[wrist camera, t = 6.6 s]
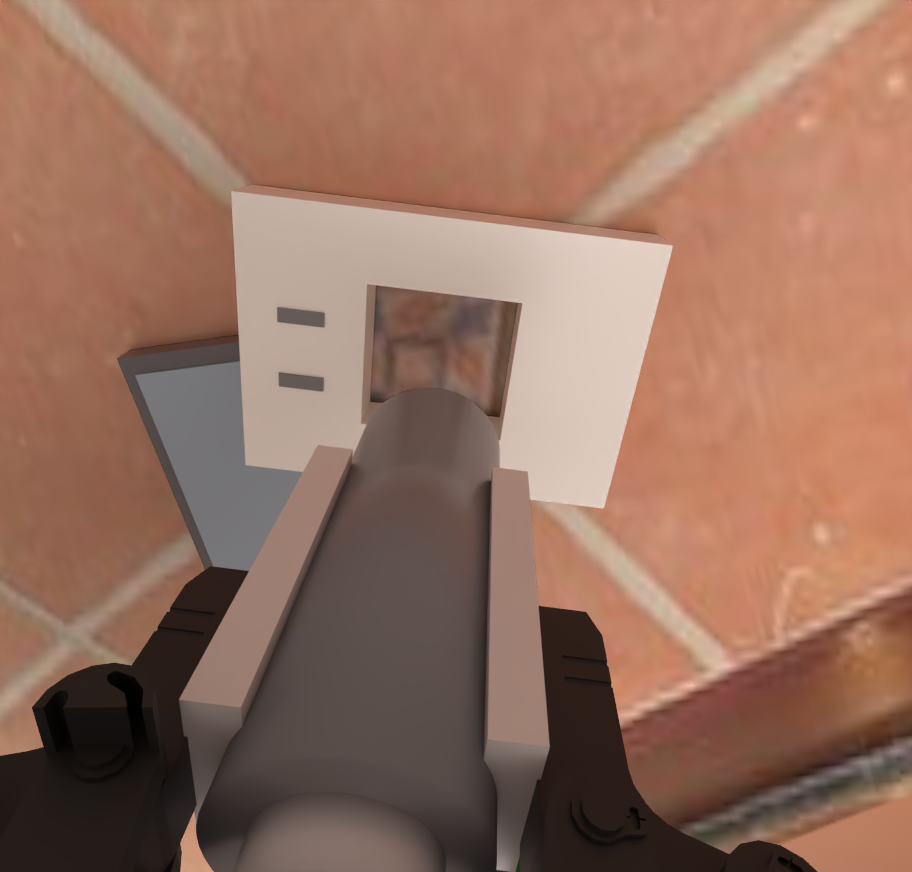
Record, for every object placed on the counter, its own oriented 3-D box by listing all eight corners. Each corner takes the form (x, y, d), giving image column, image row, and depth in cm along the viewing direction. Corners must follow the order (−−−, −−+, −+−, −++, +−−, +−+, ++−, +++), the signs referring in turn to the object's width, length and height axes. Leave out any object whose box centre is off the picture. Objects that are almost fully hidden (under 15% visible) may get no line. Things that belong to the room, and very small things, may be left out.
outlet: (262, 441, 26) (244, 466, 24) (252, 184, 21) (229, 191, 20) (596, 481, 26) (604, 509, 24) (658, 234, 21) (673, 246, 20)
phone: (233, 603, 30) (224, 619, 29) (130, 349, 24) (115, 359, 23) (374, 591, 29) (370, 607, 28) (302, 326, 24) (294, 335, 23)
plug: (359, 500, 17) (180, 989, 8) (364, 379, 15) (143, 812, 6) (489, 516, 17) (474, 1028, 8) (508, 397, 15) (520, 861, 6)
